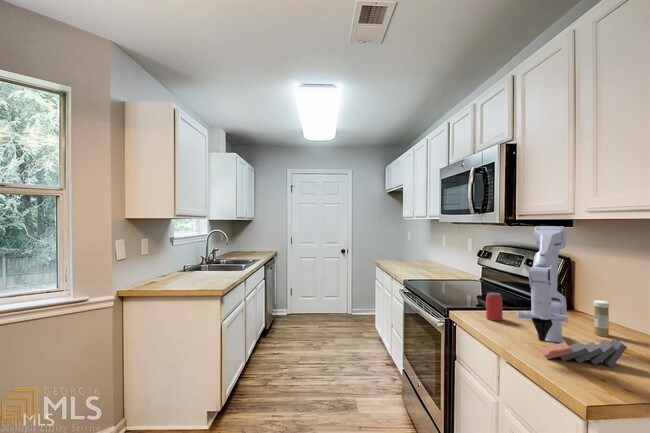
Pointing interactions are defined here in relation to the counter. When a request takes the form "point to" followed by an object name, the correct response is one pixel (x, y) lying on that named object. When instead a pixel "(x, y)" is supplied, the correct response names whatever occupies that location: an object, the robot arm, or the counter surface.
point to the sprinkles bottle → (601, 318)
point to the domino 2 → (592, 350)
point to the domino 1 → (575, 351)
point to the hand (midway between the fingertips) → (541, 340)
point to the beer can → (494, 306)
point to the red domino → (556, 350)
